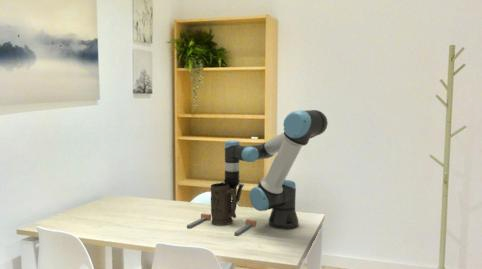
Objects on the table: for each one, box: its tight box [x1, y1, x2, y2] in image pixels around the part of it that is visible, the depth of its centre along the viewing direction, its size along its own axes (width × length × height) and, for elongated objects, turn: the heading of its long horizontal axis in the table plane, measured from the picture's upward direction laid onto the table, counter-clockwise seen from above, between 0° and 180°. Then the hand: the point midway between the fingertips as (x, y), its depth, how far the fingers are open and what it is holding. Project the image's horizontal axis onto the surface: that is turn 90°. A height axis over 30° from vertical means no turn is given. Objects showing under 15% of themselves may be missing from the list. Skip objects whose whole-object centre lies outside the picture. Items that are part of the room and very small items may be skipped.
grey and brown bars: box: [186, 212, 257, 237], centre depth 221 cm, size 31×18×3 cm, turn 65°
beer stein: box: [210, 182, 238, 226], centre depth 226 cm, size 15×11×20 cm
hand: (231, 214), depth 232 cm, fingers closed
